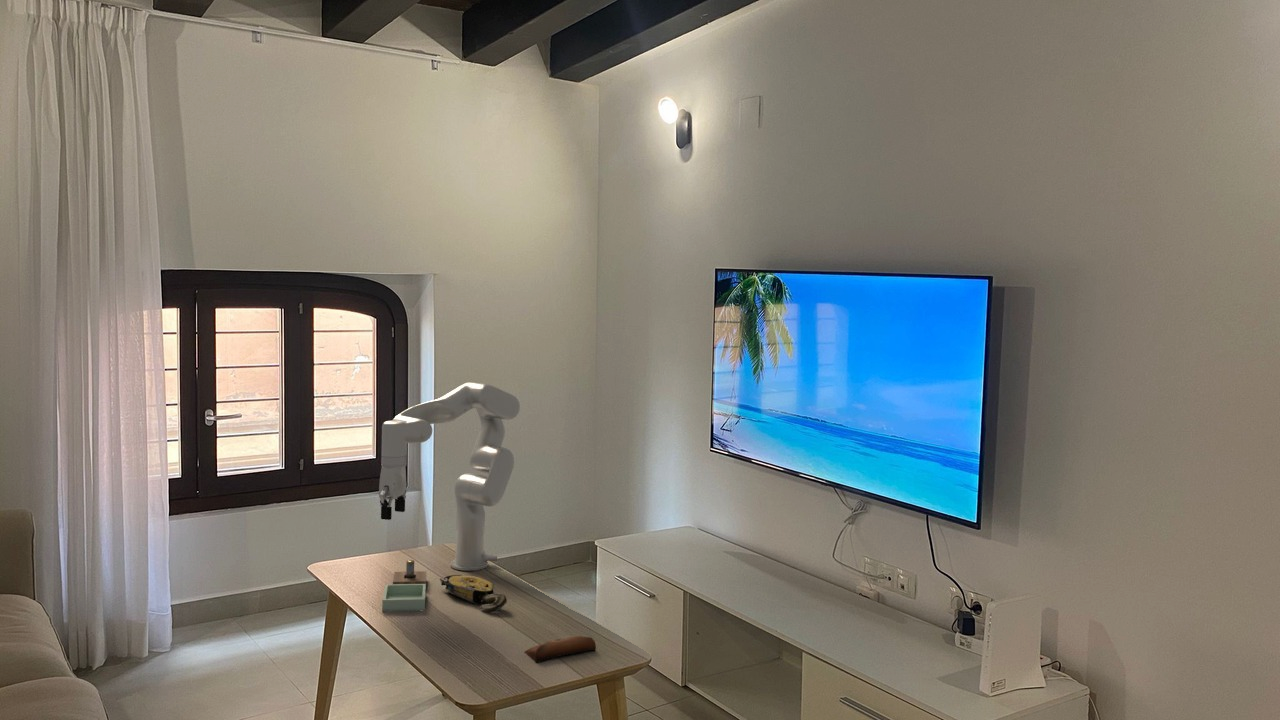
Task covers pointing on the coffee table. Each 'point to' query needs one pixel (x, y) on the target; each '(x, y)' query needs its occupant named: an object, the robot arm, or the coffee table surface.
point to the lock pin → (410, 569)
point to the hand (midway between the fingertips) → (393, 515)
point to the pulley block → (475, 591)
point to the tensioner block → (418, 578)
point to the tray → (404, 597)
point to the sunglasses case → (561, 648)
